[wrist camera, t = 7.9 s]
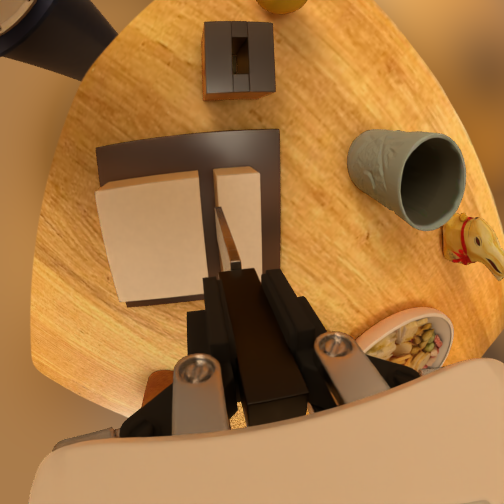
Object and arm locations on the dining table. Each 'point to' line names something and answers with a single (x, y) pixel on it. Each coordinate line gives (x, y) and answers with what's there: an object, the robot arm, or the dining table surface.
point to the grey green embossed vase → (410, 174)
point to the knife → (258, 342)
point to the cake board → (205, 181)
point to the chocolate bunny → (473, 243)
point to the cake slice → (241, 212)
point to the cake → (154, 235)
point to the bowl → (410, 338)
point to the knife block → (237, 60)
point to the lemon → (281, 5)
